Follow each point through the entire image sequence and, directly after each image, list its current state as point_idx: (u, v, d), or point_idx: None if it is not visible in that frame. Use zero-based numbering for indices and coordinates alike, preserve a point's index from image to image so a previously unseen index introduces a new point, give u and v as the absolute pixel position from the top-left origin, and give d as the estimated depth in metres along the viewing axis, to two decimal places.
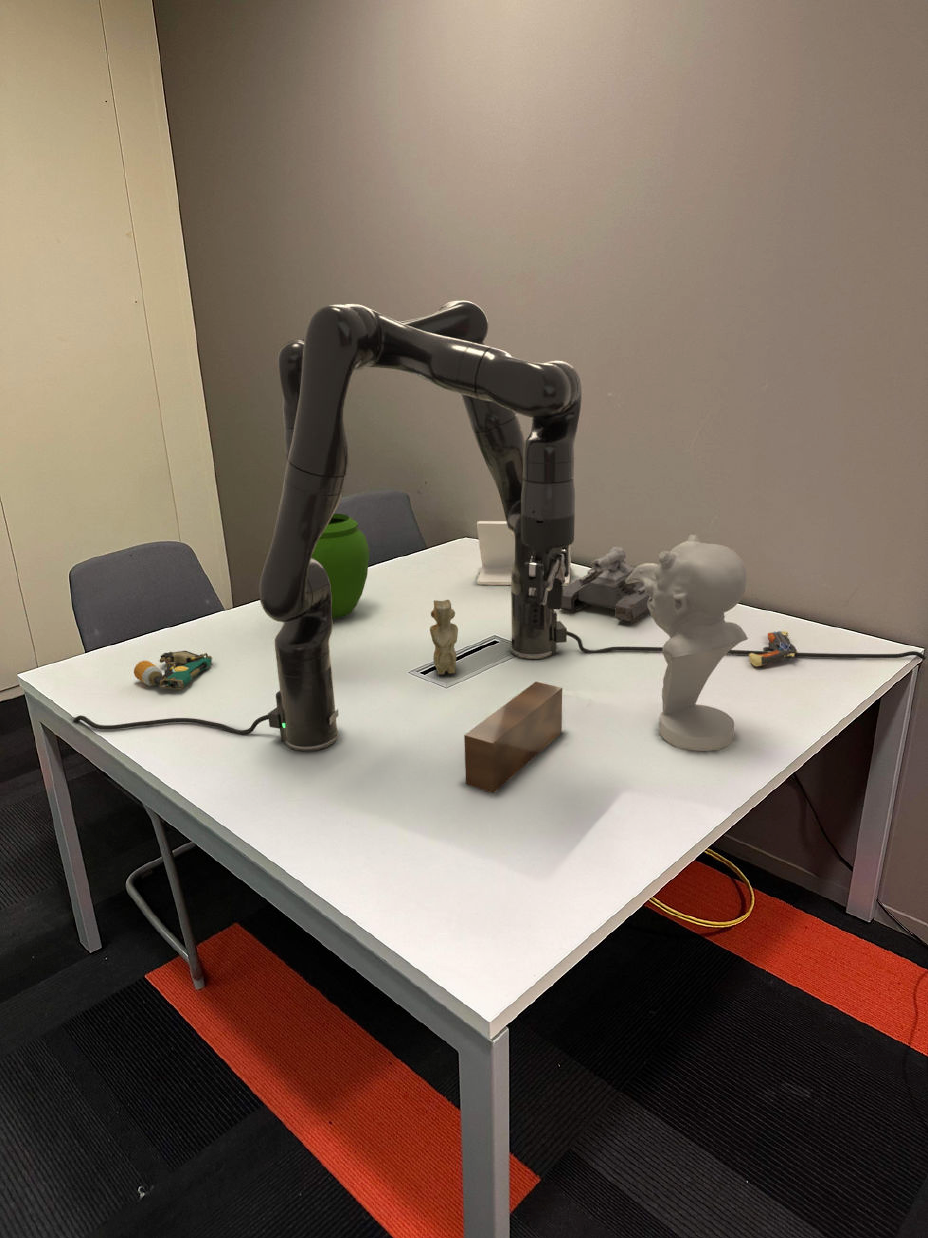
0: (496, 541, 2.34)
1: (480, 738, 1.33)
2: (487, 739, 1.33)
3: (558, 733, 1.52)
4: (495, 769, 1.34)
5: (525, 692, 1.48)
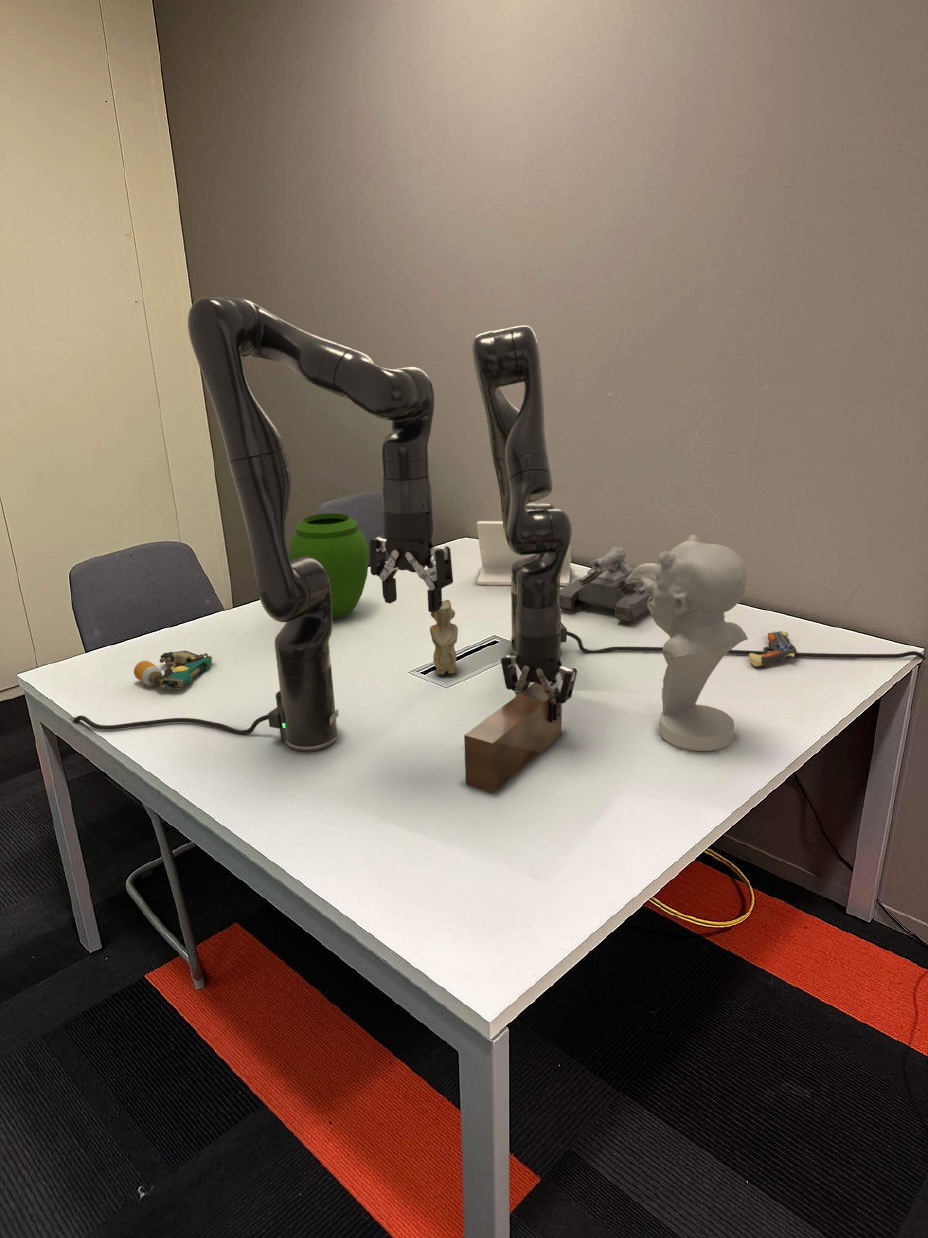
0: (496, 541, 2.34)
1: (480, 738, 1.33)
2: (487, 739, 1.33)
3: (558, 733, 1.52)
4: (494, 769, 1.34)
5: (525, 692, 1.48)
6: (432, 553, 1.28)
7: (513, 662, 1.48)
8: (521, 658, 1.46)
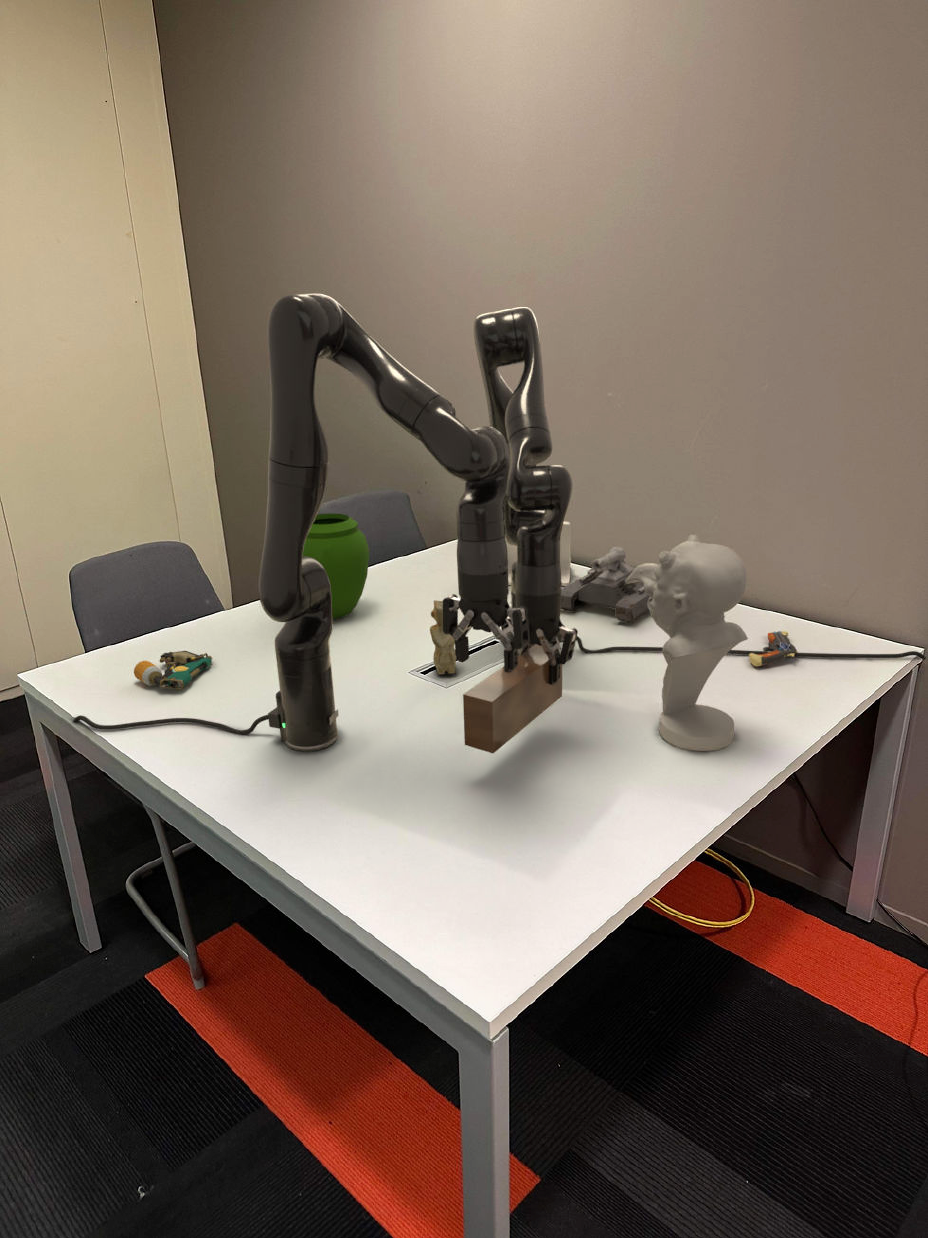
0: None
1: (479, 697, 1.31)
2: (486, 698, 1.31)
3: (558, 696, 1.49)
4: (494, 728, 1.31)
5: (525, 654, 1.46)
6: (509, 613, 1.26)
7: None
8: None
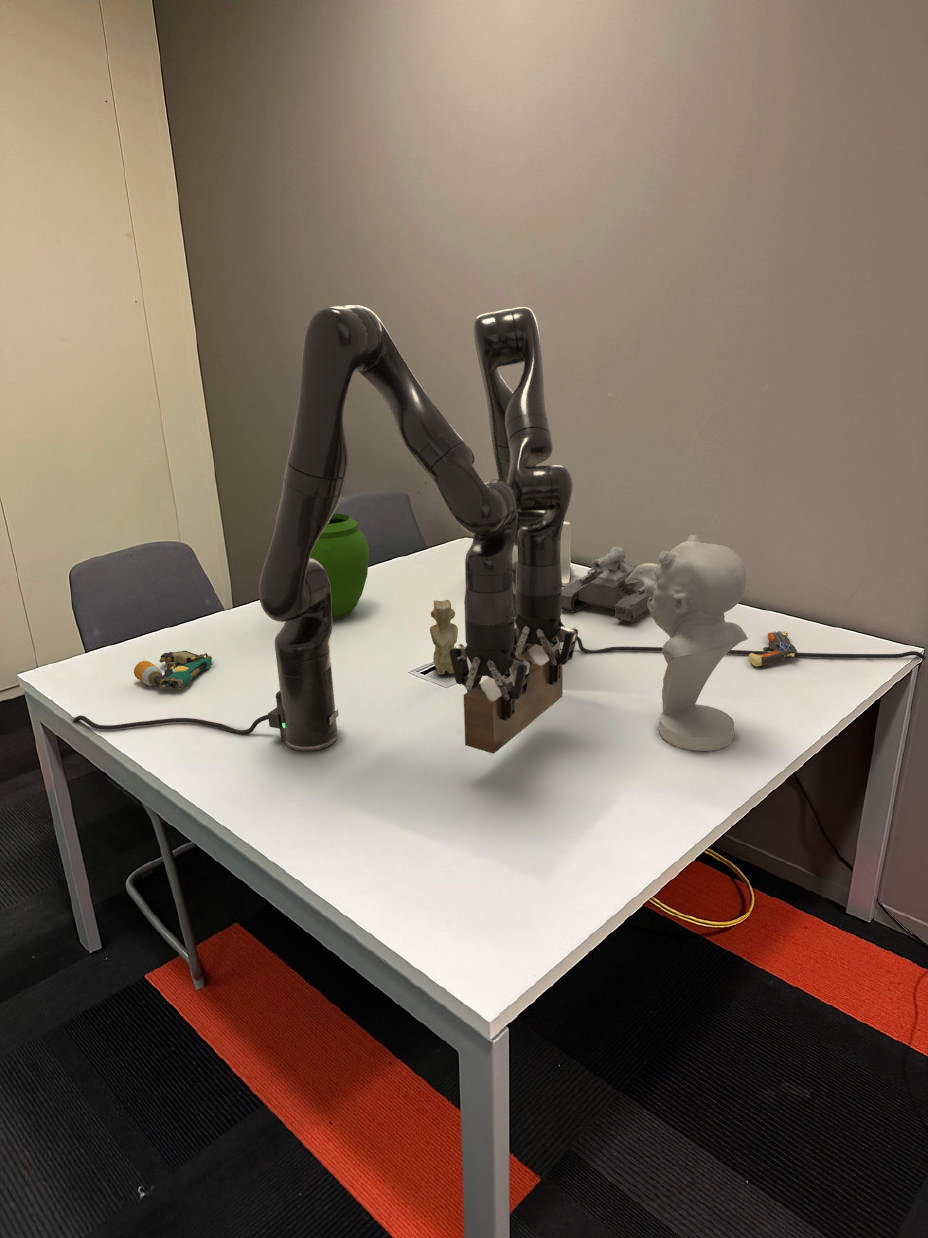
0: None
1: (479, 698, 1.31)
2: (487, 698, 1.31)
3: (559, 696, 1.49)
4: (494, 729, 1.31)
5: (525, 654, 1.46)
6: (514, 664, 1.29)
7: None
8: (521, 619, 1.44)
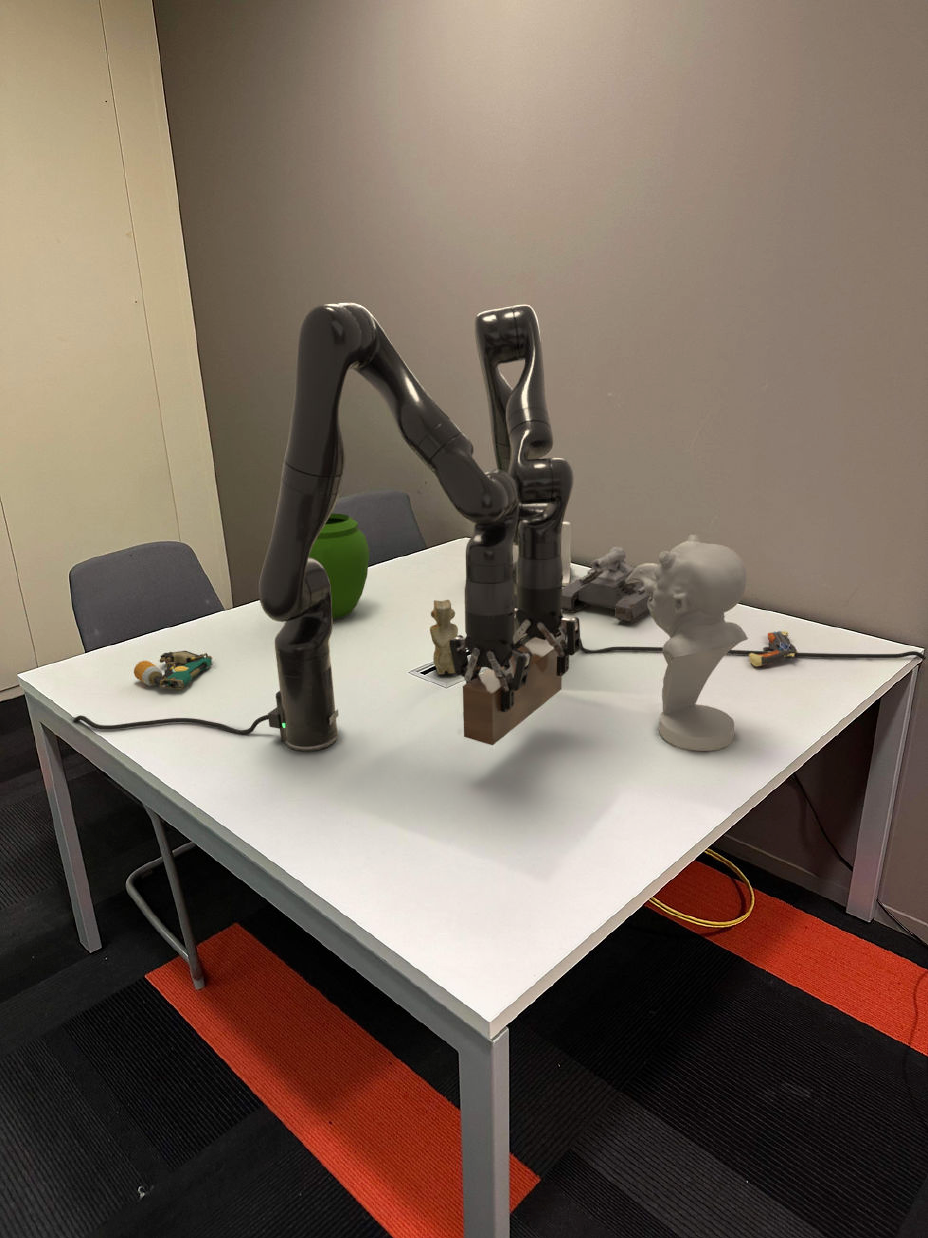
0: None
1: (478, 689, 1.30)
2: (486, 690, 1.30)
3: (558, 689, 1.49)
4: (493, 720, 1.31)
5: (524, 646, 1.45)
6: (514, 655, 1.28)
7: None
8: (523, 613, 1.44)
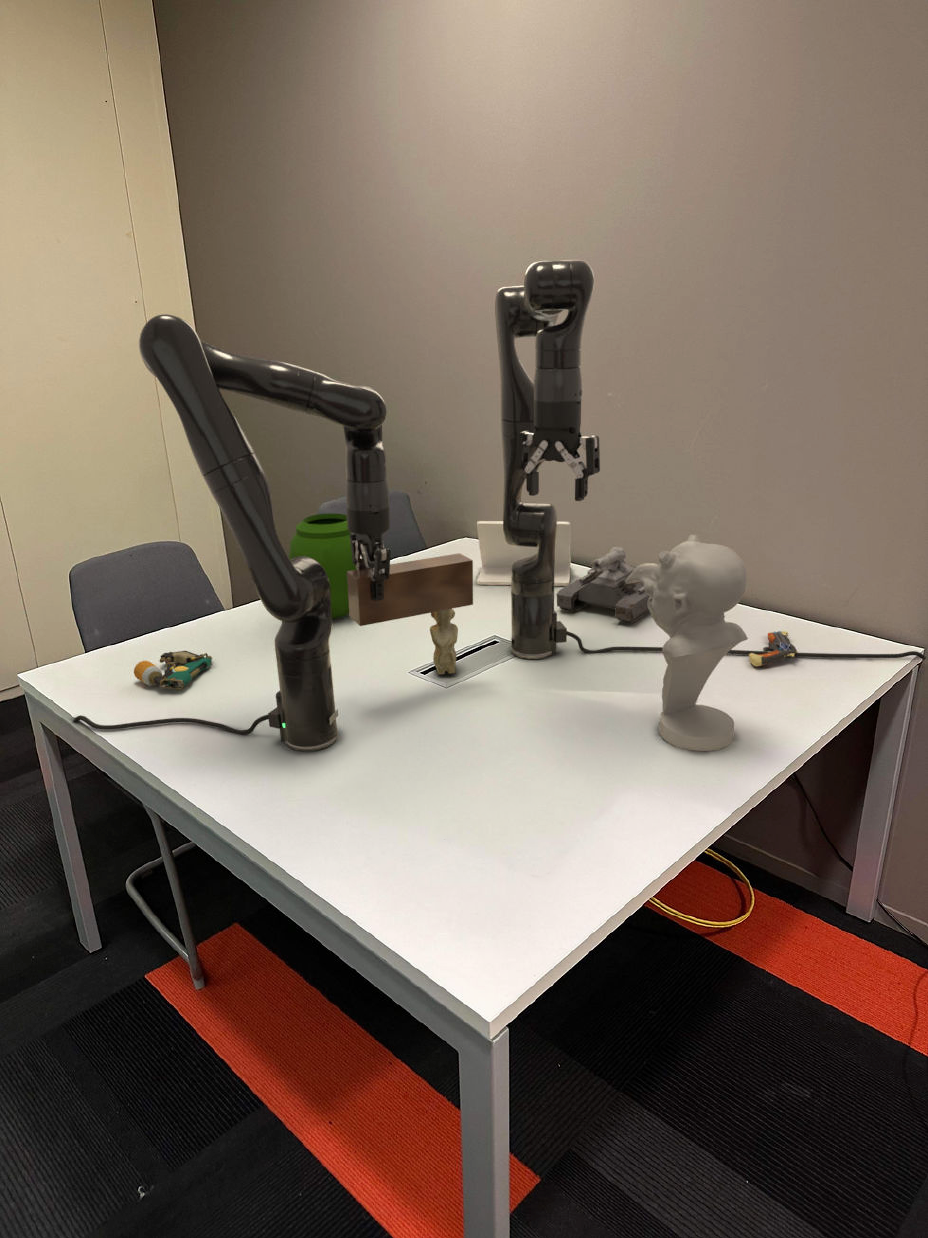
0: (496, 541, 2.34)
1: (353, 575, 1.53)
2: (357, 576, 1.52)
3: (467, 603, 1.63)
4: (361, 604, 1.52)
5: (438, 557, 1.62)
6: (376, 550, 1.48)
7: (529, 439, 1.40)
8: (540, 435, 1.38)
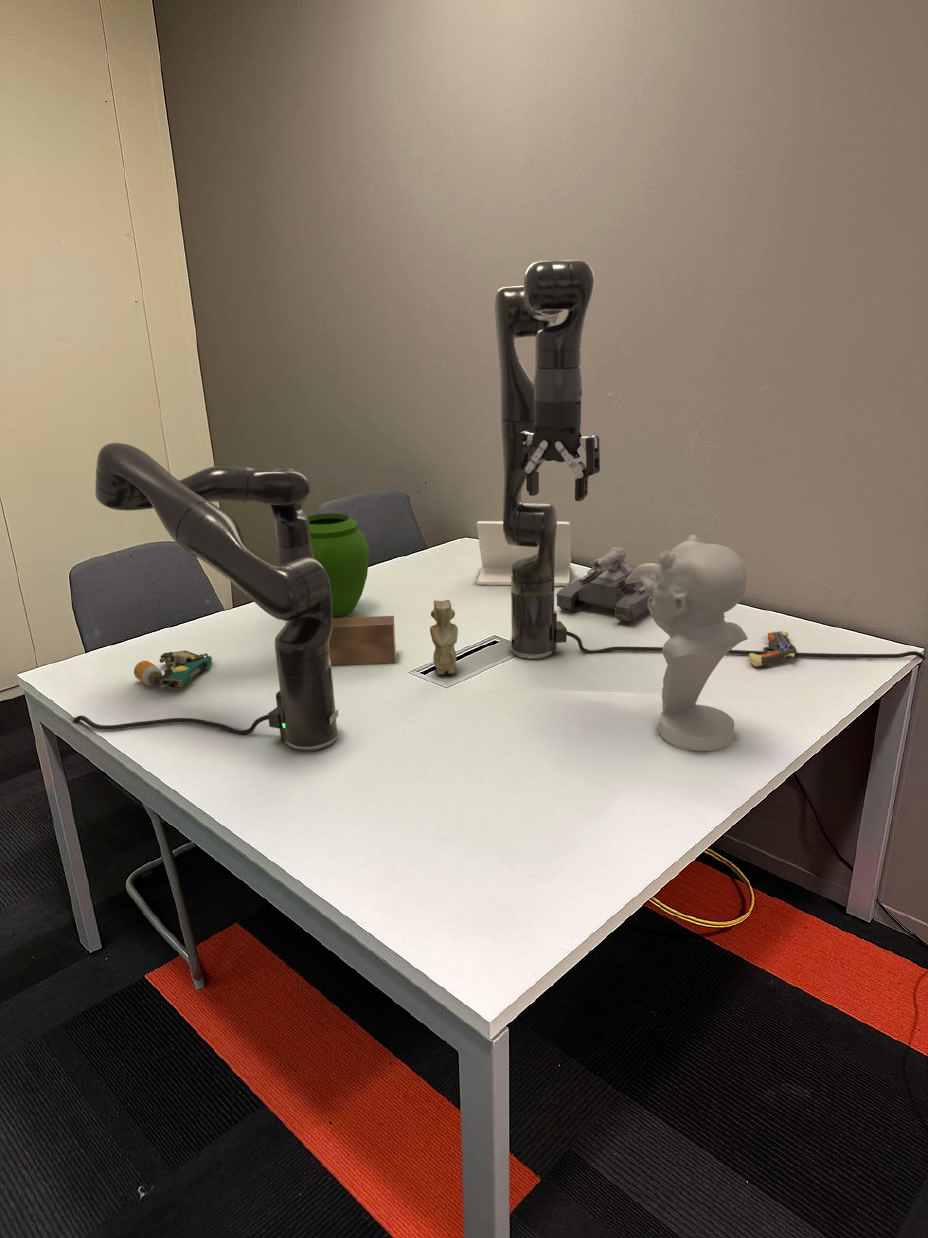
0: (496, 541, 2.34)
1: None
2: None
3: (389, 660, 1.84)
4: None
5: (371, 617, 1.85)
6: None
7: (529, 439, 1.40)
8: (540, 435, 1.38)
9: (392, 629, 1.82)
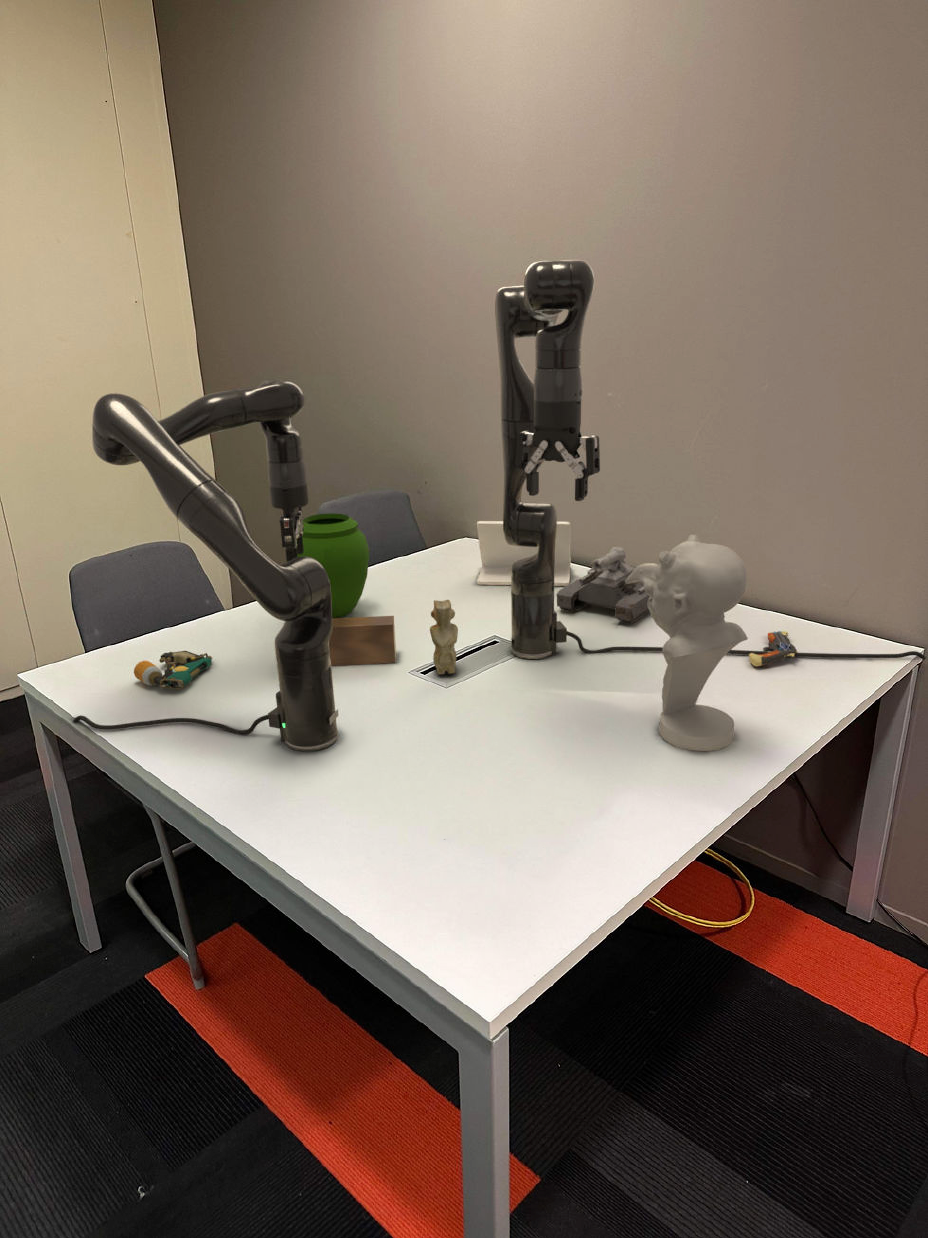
0: (496, 541, 2.34)
1: None
2: None
3: (389, 660, 1.84)
4: None
5: (371, 617, 1.85)
6: None
7: (529, 439, 1.40)
8: (540, 435, 1.38)
9: (392, 629, 1.82)
